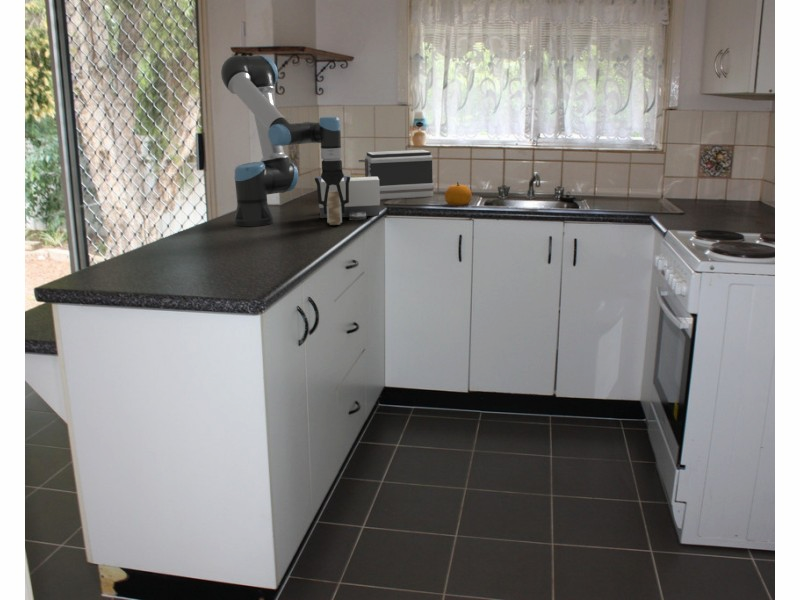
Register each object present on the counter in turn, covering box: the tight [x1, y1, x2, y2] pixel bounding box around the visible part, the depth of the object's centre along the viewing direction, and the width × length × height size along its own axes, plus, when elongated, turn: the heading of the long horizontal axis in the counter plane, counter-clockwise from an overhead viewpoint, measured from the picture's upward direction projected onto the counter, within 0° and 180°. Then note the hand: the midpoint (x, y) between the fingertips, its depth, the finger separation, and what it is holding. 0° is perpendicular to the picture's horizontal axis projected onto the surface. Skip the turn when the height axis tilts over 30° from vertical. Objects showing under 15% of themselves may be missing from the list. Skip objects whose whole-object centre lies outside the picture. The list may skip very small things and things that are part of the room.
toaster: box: [358, 149, 435, 201], centre depth 360 cm, size 18×34×21 cm, turn 101°
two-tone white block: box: [318, 176, 381, 219], centre depth 300 cm, size 24×12×16 cm, turn 95°
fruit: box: [444, 181, 473, 207], centre depth 328 cm, size 12×12×10 cm
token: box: [348, 210, 367, 221], centre depth 300 cm, size 7×7×3 cm
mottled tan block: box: [328, 191, 341, 226], centre depth 289 cm, size 4×16×12 cm, turn 4°
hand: (334, 222), depth 285 cm, fingers closed on mottled tan block, 4 cm apart
